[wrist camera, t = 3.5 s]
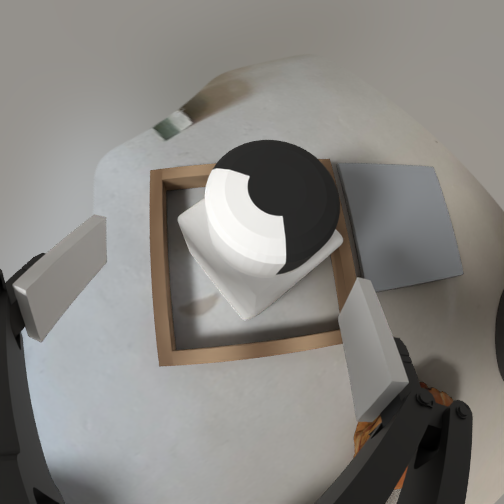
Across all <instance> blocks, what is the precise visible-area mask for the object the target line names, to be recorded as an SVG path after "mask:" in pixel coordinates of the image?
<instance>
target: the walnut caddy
mask: <svg viewBox="0 0 504 504" xmlns="http://www.w3.org/2000/svg"><path fill="white" fill-rule="evenodd" d="M318 160H319V161H320V162H321V163H322V164H323V165H324V166H325V167H326V169H327V170H328V171H329V173H330V174H331V176H332V178H333V179H334V182H335V184H336V181H335V177H334V173H333V169H332V165H331V162H330V159H318ZM215 165H216V164H204V165H194V166H184V167H174V168H165V169H157V170H150V256H151V278H152V295H153V308H154V320H155V331H156V341H157V350H158V359H159V366H176V365H191V364H203V363H215V362H225V361H234V360H243V359H251V358H259V357H266V356H274V355H280V354H287V353H293V352H299V351H305V350H311V349H317V348H322V347H327V346H333V345H338V344H343V341H342V336H341V331H340V329H338V330H333V331H327V332H321V333H316V334H310V335H303V336H297V337H290V338H284V339H277V340H269V341H262V342H254V343H246V344H237V345H228V346H218V347H207V348H195V349H182V350H176V345H175V335H174V326H173V315H172V304H171V291H170V277H169V260H168V240H167V206H166V191H168V190H178V189H187V188H198V187H206V184H207V181H208V177H209V175H210V173H211V171H212V169H213V168H214V166H215ZM336 186H337V185H336ZM337 190H338V189H337ZM339 199H340V197H339ZM336 230H337V231H338V232H339V233H340V234H341V236H342V237H343V243H342V244H341V245H340V246H339V247H338V248H337V249H336V250H335V251H334V252H333V253H331V254H330V255H331V261H332V267H333V272H334V278H335V284H336V291H337V297H338V304H339V310H340V312H341V310H342V308H343V306H344V304H345V302H346V300H347V298H348V296H349V294H350V292H351V290H352V288H353V286H354V283H355V281H356V273H355V268H354V262H353V257H352V252H351V247H350V242H349V237H348V232H347V228H346V223H345V218H344V214H343V210H342V205H341V201H340V215H339V220H338V223H337V227H336Z"/></svg>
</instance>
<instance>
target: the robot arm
mask: <svg viewBox="0 0 504 504" xmlns="http://www.w3.org/2000/svg"><path fill="white" fill-rule="evenodd" d="M106 263H107V249H106V217H103V216H98V215H93V216H92V217H91V218H89V219H88V220H87V221H85V222H84V223H83V224H82V225H80V226H79V227H78V228H76V229H75V230H74V231H73V232H71V233H70V234H69V235H68V236H66V237H65V238H64V239H63V240H61V241H60V242H59V243H58V244H57V245H56V246H54V247H53V248H52V249H51V250H50V251H48V253H46V254H45V253H41V254H39V255H37V256H35V257H33V258H32V259H31V260H30V261H29V262H28V263H27V264H25V265H24V266H23V267H22V269H20V270H19V271H17V272H16V273H15V274H14V275H13V276H12V277H11V278H10V279H9V280H8V281H7V282H6V283H5V281H4V277H3V273H2V270H1V269H0V504H65V503H64V500H63V498H62V496H61V494H60V492H59V490H58V489H57V487H56V486H55V484H54V482H53V480H52V478H51V476H50V473H49V470H48V467H47V464H46V460H45V457H44V454H43V450H42V447H41V443H40V440H39V436H38V432H37V428H36V423H35V419H34V414H33V410H32V405H31V399H30V394H29V388H28V381H27V374H26V367H25V358H24V348H23V337H22V334H21V331H22V330H23V328H24V327H25V328H26V330H27V333H28V336H29V337H31V338H33V339H35V340H37V341H39V342H41V343H42V341H43V340H44V338H45V337H46V336H47V334H48V333H49V332H50V331H51V329H52V328H53V327H54V325H55V324H56V323H57V321H58V320H59V319H60V318H61V316H62V315H63V314H64V313H65V311H66V310H67V309H68V308H69V306H70V305H71V304H72V303H73V301H74V300H75V299H76V298H77V297H78V295H79V294H80V293H81V292H82V291H83V289H84V288H85V287H86V286H87V285H88V283H89V282H90V281H91V280H92V279H93V278H94V276H95V275H96V274H97V273H98V272H99V271H100V270H101V268H102V267H103V266H104V265H105V264H106ZM338 322H339V326H340V331H341V336H342V341H343V346H344V351H345V356H346V362H347V367H348V372H349V378H350V384H351V390H352V396H353V402H354V408H355V415H356V421H357V422H373V421H374V420H375V419H376V418H377V417H378V416H379V415H380V416H381V421H382V422H381V423H380V424H379V425H378V426H377V427H376V428H375V429H374V430H373V431H372V432H371V433H370V434H368V435H370V437H369V439H368V440H367V441H366V443H365V444H364V445H363V447H362V448H361V449H360V451H359V452H358V453H357V455H356V456H355V457H354V459H353V460H352V461H351V462H350V464H349V465H348V466H347V467H346V469H345V470H344V471H343V472H342V473H341V475H340V476H339V477H338V478H337V479H336V480H335V482H334V483H333V484H332V485H331V486H330V487H329V488H328V490H327V491H326V492H325V493H324V494H323V495H322V496H321V497H320V498H319V499H318V500H317V501H316V503H315V504H385V503H386V501H387V500H388V498H389V496H390V495H391V493H392V492H393V490H394V488H395V487H396V485H397V484H398V482H399V480H400V478H401V477H402V475H403V473H404V472H405V470H406V468H407V466H408V468H407V472H406V475H405V479H404V482H403V486H402V489H401V492H400V495H399V498H398V501H397V504H465V499H466V493H467V486H468V479H469V470H470V460H471V447H472V420H473V417H472V412H471V410H470V408H469V406H468V405H467V404H466V403H464V402H463V401H460V400H456V401H454V402H452V403H451V404H450V405H449V406H445V405H441V404H439V403H436V401H435V398H434V397H433V395H432V394H431V393H430V392H429V391H428V390H426V389H424V388H421V386H420V383H419V380H418V377H417V374H416V372H415V369H414V366H413V364H412V361H411V358H410V357H409V353H408V350H407V348H406V346H405V345H404V343H403V342H402V341H401V339H400V338H395V337H393V335H392V333H391V330H390V327H389V325H388V322H387V320H386V317H385V314H384V312H383V309H382V307H381V304H380V302H379V300H378V297H377V295H376V292H375V290H374V288H373V285H372V283H371V280H367V279H363V278H359V277H357V279H356V281H355V283H354V286H353V288H352V290H351V292H350V294H349V296H348V298H347V300H346V302H345V304H344V306H343V308H342V310H341V312H340V314H339V316H338ZM496 354H497V362H498V367H499V371H500V374H501V376H502V379H503V381H504V292H503V294H502V297H501V301H500V305H499V309H498V315H497V323H496Z"/></svg>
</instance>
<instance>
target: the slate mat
mask: <svg viewBox="0 0 504 504" xmlns="http://www.w3.org/2000/svg"><path fill="white" fill-rule="evenodd" d="M337 169H338V173H339V176H340V180H341V184H342V188H343V192H344V196H345V200H346V204H347V208H348V212H349V217H350V221H351V226H352V230H353V235H354V240H355V244H356V249H357V254H358V260H359V265H360V270H361V276H362V278H363V279H367V280H371V283H372V285H373V288H374V290H375V292H379V291H384V290H390V289H395V288H401V287H406V286H411V285H416V284H421V283H426V282H431V281H436V280H441V279H446V278H450V277H455V276H459V275H463V269H462V264H461V259H460V255H459V250H458V246H457V242H456V238H455V234H454V230H453V227H452V223H451V219H450V216H449V212H448V209H447V206H446V203H445V199H444V196H443V193H442V190H441V187H440V184H439V181H438V179H437V176H436V173H435V170H434V168H433V167H428V166H413V165H395V164H367V163H338V164H337Z"/></svg>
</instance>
